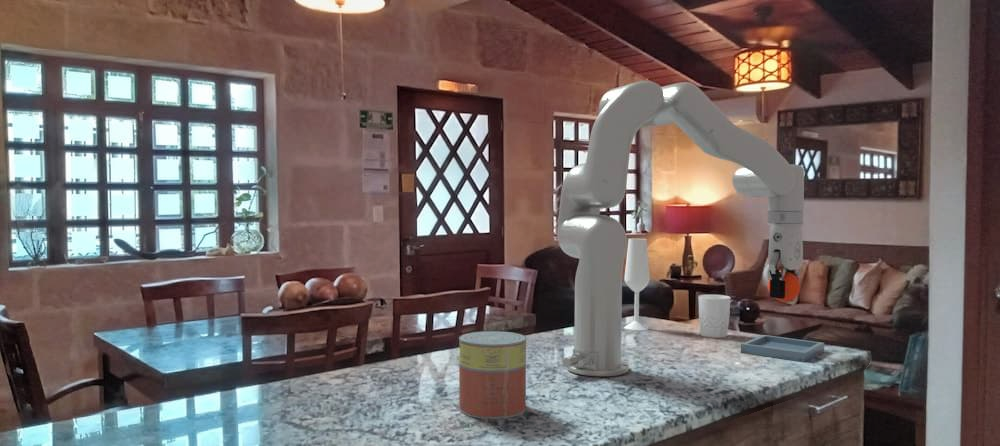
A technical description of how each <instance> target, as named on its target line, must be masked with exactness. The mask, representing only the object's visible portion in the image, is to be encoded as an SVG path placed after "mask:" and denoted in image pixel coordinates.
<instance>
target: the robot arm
mask: <svg viewBox="0 0 1000 446" xmlns="http://www.w3.org/2000/svg"><path fill="white" fill-rule="evenodd" d="M598 110H599V111H598V112H599V114H598V115H597V117H596V119H595V121H594V123H593V126H592V127H591V132H590V134H589V135H590V136H589V141H588V142H589V143H588V147H587V154H586V158H585V159H586V160H585V162H584V163H580V164H578V165H575V166H574V167H572V168H571V169H570V170H569V171H568V172H567V174H566V175H565V178H564V180H563V183H562V186H561V192H560V193H561V194H560V201H559V210H558V219H557V232H556V233H557V234H556V236H557V241H558V245H559V247H560V249H561V250H562V252H563V253H565V254H566V255H568V256H569V257H571V258H575V259H579V260H578V265H577V268H576V272H575V278H574V340H573V341H574V343H573V344H574V348H573V349H572V355H570V356H568V357H565V358H563V359H562V365H563V366H564V367H565V368H566V369H567V370H568V372H571V373H573V374H577V375H581V376H589V377H615V376H620V375H624V374H626V373H628V372H629V370H630V369H629V363H627V362H626V361H623V360H622V321H623V320H622V319H623V318H622V317H623V316H622V315H623V314H622V313H623V310H622V309H623V306H622V305H623V303H622V302H623V288H622V287H623V270H624V264H625V263H624V262H625V258H626V255H627V249H628V237H627V233H626V231H625V228H624V226H623V225H622V223H620V222H619V221H618V220H617V219H615V218H614V217H612V216H608V215H603V214H601V213H600V211H601V209H610V208H615V207H616V206H619V205H620V203H622V202H623V199H624V197H625V195H626V191H627V183H628V175H629V174H628V172H629V164H630V156H631V155H630V154H631V151H632V150H631V148H632V145H633V140H634V138H635V135H636V134H637V132H638V131H639V130H640V128H647V127H649V128H650V127H661V126H668V125H673V124H675V125H676V126H677V127H678V128H679V129H680V130H681V131H682V132H683V133H684V134H685V135H686V136H687V137H688V138H689V139H690V140H691V141H693V143H694V144H695V145H696V146H697V147H698V148H699V149H700V150H701V151H702V152H703V153H705V154H706V155H709V156H711V157H714V158H716V159H721V160H723V161H727V162H731V163H734V164H737V165H739V166H740V167H737V169H736V170H735V172H734V173H733V175H732V181H731V183H732V185H733V188H734V190H735V191H736V192H737V193H739V194H740V195H741V196H745V197H747V198H748V197H750V198H763V197H764V198H765V197H767V226H770V228H769V238H768V255H767V256H768V266H769V270H768V272H769V279H770V293H769V297H770V298H771V299H774V298H780V299H783V298H785V281H783V280H784V275H785V271H786V272H790V273H792V274H794V275H795V276H796V277H797V278H798V279H799V269H800V268H802V267H803V265H804V242H803V240H804V239H803V231H802V230H803V229H802V227H803V226H804V203H805V202H804V201H805V200H804V199H805V193H804V192H805V191H804V190H805V170H804V167H803V166H802V165H799V164H790V163H789V162H788V161H787V159H786V158H785V157H784V156H783V155H782V153H780V152H779V151H778V150H777V149H776V148H775V147H774V146H773V145H771V144H770V143H769V142H767V141H765V140H764V139H762V138H760V137H759V136H756V135H755V134H753V133H751V132H749V131H748V130H746V129H744V128H741V127H739V126H737V125H735V123H733V121H731V120H730V119H729V118H728V117H727V116H726V115H725V114H724V113H723V111H722V110H721V109H720V107H718V106H717V105H716V104H715V103H714V102H713V101H712V100H711V99H710V97H708V96H707V95H706V94H705V93H704V91H703V90H702V89H700V87H698V86H697V85H696V84H694V83H692V82H689V81H684V82H683V81H681V82H676V83H672V84H667V85H664V86H660V85H659V84H658V83H656V82H653V81H651V80H640V81H636V82H631V83H628V84H626V85H623V86H618V87H615V88H612V89H609V90H608V91H606V92H605V93H604V94H603V96H602V97H601V99H600V101H599V105H598ZM780 272H781V274H780Z"/></svg>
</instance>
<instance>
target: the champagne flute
mask: <svg viewBox="0 0 1000 446" xmlns="http://www.w3.org/2000/svg"><path fill="white" fill-rule="evenodd" d="M647 241H648V239H647V238H638V237H637V238H636V237H635V238H633V237H632V238H631V237H630V238H628V239H627V248H626V259H625V260H626V263H625V268H624V269H625V270H624V278H623V279H624V282H625V284H626V286H627V287H628V288H629V289H630V290H631V291H632V292H634V310H633V311H634V315H633V316H634V317H633V318H634V319H633V321H632V322H630V323H628V324H627V325H625V326H624V327H623V329H625V330H631V331H646V330H649V329H650V327H648V326H647V325H645V324H644V323H642V322H641V321H640V319H639V318H640V315H639V314H640V292H641V291H643V290H644V289H645V288H646V287H647V286H648V284H649V283H650V280H651V278H650V277H651V276H650V265H649V253H648V242H647Z"/></svg>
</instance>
